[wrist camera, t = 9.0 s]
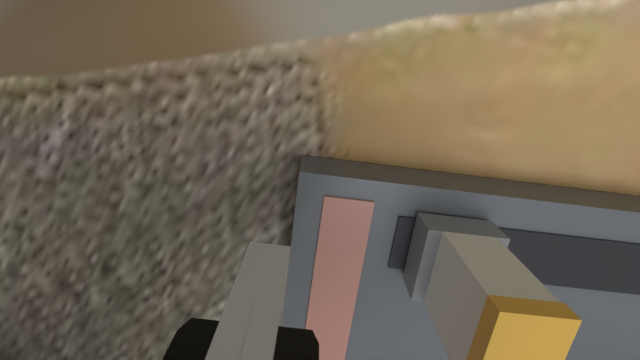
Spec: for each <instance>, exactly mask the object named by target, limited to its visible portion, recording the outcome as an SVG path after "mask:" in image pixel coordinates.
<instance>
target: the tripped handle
mask: <svg viewBox="0 0 640 360" xmlns="http://www.w3.org/2000/svg"><path fill="white" fill-rule="evenodd" d="M509 242H510V238H509V237H508V236H507V235H506V234H505V233H504V232H502V231H501V230H500V229H499V228H498V227H497V226H496V225H495V224H494V223H493V222H492V221H487V220H478V219H470V218H461V217H453V216H444V215H436V214H427V213H417V217H416V222H415V226H414V230H413V234H412V239H411V243H410V247H409V251H408V255H407V260H406V264H405V268H404V272H403V277H402V278H403V280H404V283H405V286H406V288H407V291H408V293H409V296H410V299H411V300H415V301H424V303H425V305H426V307H427V310H428V312H429V314H430V317H431V319H432V321H433V323H434V326H435V328H436V330H437V333H438V335H439V337H440V340H441V342H442V344H443V346H444V349H445V351H446V353H447V356H448V358H449V360H565V358H566V356H567V354H568V351H569V349H570V347H571V345H572V342H573V340H574V338H575V336H576V333H577V331H578V329H579V327H580V324H581V322H582V320H581V319H580V318H579V317H578V316H577V315H576V314H575V313H574V312H573V311H572V310H571V309H570V308H569V307H568V306H567V305H566V304H565V303H562V302H560V301H559V300H558V299H557V298H556V297H555V296H554V295H553V294H552V293H551V292H550V291H549V290H548V289H547V288H546V287H545V286H544V285H543V284H542V283H541V282H540V281H539V280H538V279H537V278H536V277H535V276H534V275H533V274H532V272H531V271H530V270H529V269H528V268H527V267H526V266H525V265H524V264H523V263H522V262H521V261H520V260H519V259H518V258H517V257H516V256H515V255H514V254H513V253H512V252H511V251H510V250H509V249H508V245H509Z"/></svg>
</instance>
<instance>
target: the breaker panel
mask: <svg viewBox="0 0 640 360" xmlns="http://www.w3.org/2000/svg"><path fill="white" fill-rule="evenodd" d="M417 213H427V214H436V215H444V216H453V217H461V218H470V219H478V220H487V221H492V222H493V223H494V224H495V225H496V226H497V227H498V228H499V229H500V230H501V231H502V232H504V233H505V234H506V235H507V236H508V237H509V238H510V242H509V245H508V249H509V250H510V251H511V252H512V253H513V254H514V255H515V256H516V257H517V258H518V259H519V260H520V261H521V262H522V263H523V264H524V265H525V266H526V267H527V268H528V269H529V270H530V271H531V272H532V274H533V275H534V276H535V277H536V278H537V279H538V280H539V281H540V282H541V283H542V284H543V285H544V286H545V287H546V288H547V289H548V290H549V291H550V292H551V293H552V294H553V295H554V296H555V297H556V298H557V299H558V300H559V301H560V302H562V303H565V304H566V305H567V306H568V307H569V308H570V309H571V310H572V311H573V312H574V313H575V314H576V315H577V316H578V317H579V318H580V319H581V320H582V322H581V324H580V327H579V329H578V331H577V333H576V336H575V338H574V340H573V342H572V345H571V347H570V349H569V351H568V354H567V356H566V358H565V360H640V196H632V195H624V194H616V193H608V192H600V191H592V190H583V189H575V188H567V187H559V186H551V185H543V184H535V183H526V182H518V181H510V180H502V179H494V178H486V177H477V176H469V175H461V174H453V173H445V172H437V171H429V170H420V169H412V168H404V167H396V166H388V165H380V164H371V163H363V162H355V161H347V160H339V159H331V158H323V157H314V156H306V155H302V156H301V163H300V169H299V177H298V186H297V194H296V203H295V212H294V220H293V229H292V238H291V248H290V257H289V265H288V274H287V282H286V291H285V300H284V308H283V315H282V324H281V327H291V328H300V329H309V330H313V332H314V334H315V336H316V338H317V340H318V342H319V360H449V358H448V356H447V353H446V351H445V349H444V346H443V344H442V342H441V340H440V337H439V335H438V333H437V330H436V328H435V326H434V323H433V321H432V319H431V317H430V314H429V312H428V310H427V307H426V305H425V303H424V301H415V300H411V299H410V296H409V293H408V291H407V288H406V286H405V283H404V280H403V278H402V277H403V272H404V268H405V264H406V260H407V255H408V251H409V247H410V243H411V239H412V234H413V230H414V226H415V222H416V217H417Z"/></svg>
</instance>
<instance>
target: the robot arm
mask: <svg viewBox="0 0 640 360" xmlns="http://www.w3.org/2000/svg"><path fill="white" fill-rule="evenodd" d="M290 248H291V246H283V245H275V244H266V243H257V242H250V243H249V245H248V248H247V251H246V253H245V256H244V259H243V261H242V264H241V266H240V269H239V272H238V274H237V277H236V279H235V282H234V285H233V287H232V290H231V293H230V295H229V298H228V300H227V303H226V306H225V308H224V311H223V313H222V316H221V319H220V321H215V320H206V319H196V318H191V319H190V320H189V321H188V322H186V323H185V324H184V325H183V326H182V327H181V328H179V329H178V330H177V332H176V334H175V336H174V338H173V340H172V342H171V344H170V347H169V348H168V350H167V351H166V353H165V355H164V357H163V360H319V342H318V340H317V338H316V336H315V334H314V332H313V330H309V329H300V328H291V327H281V321H282V315H283V308H284V300H285V291H286V282H287V274H288V265H289V257H290Z"/></svg>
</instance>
